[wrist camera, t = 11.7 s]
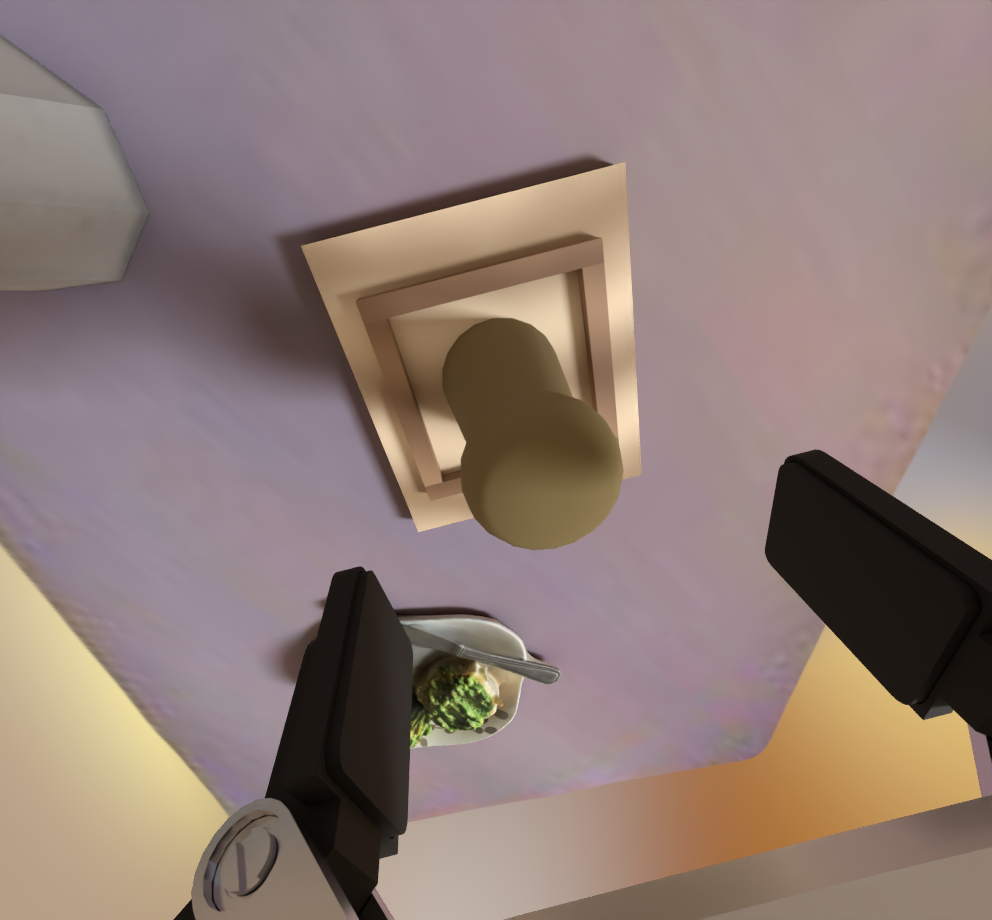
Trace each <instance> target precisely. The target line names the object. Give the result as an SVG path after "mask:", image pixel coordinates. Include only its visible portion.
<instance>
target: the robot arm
mask: <svg viewBox="0 0 992 920" xmlns="http://www.w3.org/2000/svg"><path fill="white" fill-rule="evenodd" d="M765 554H766V557H767V560H768V562H769V563H770V565H771V566H772V567H773V568H774V569H775V570H776V571H777V572H778V573H779V574H780V576H781V577H782V578H783V579H784V580H785V581H786V582H787V583H788V584H789V585H790V586H791V587H792V588H793V590H794V591H795V592H796V593H797V594H798V595H799V596H800V597H801V598H802V599H803V600H804V601H805V602H806V604H807V605H808V606H809V607H810V608H811V609H812V610H813V611H814V612H815V613H816V614H817V615H818V616H819V618H820V619H821V620H822V621H823V622H824V623H825V624H826V625H827V626H828V627H829V628H830V629H831V630H832V632H834V634H835V635H836V636H837V637H838V638H839V639H840V640H841V641H842V642H843V643H844V644H845V646H847V648H848V649H849V650H850V651H851V652H852V653H853V654H854V655H855V656H856V657H857V658H858V660H859V661H860V662H861V663H862V664H863V665H864V666H865V667H866V668H867V669H868V670H869V671H870V672H871V673H872V675H873V676H874V677H875V678H876V679H877V680H878V681H879V682H880V683H881V684H882V685H883V686H884V687H885V689H886V690H887V691H888V692H889V693H890V694H891V695H892V696H893V697H894V698H895V699H896V700H898V701H899V702H901V703H903V704H905V705H909V706H910V707H911V708H912V709H913V710H914V711H915V712H916V713H917V714H918V715H919V716H920V717H921V718H922V719H923V720H925V719H929V718H933V717H936V716H941V715H945V714H949V713H951V712H952V711H953V710H954V711H955V712H956V713H958V714H959V716H960V717H962V718H963V719H964V720H965V721H966V722H967V723H968V728H969V733H970V738H971V743H972V748H973V754H974V759H975V763H976V769H977V774H978V779H979V785H980V789H981V795H982V798H978V799H974V800H970V801H966V802H962V803H958V804H954V805H950V806H946V807H942V808H938V809H934V810H930V811H926V812H922V813H918V814H914V815H910V816H906V817H902V818H898V819H894V820H890V821H886V822H882V823H878V824H874V825H870V826H866V827H862V828H858V829H854V830H850V831H846V832H842V833H838V834H834V835H830V836H826V837H823V838H818V839H815V840H810V841H806V842H802V843H798V844H794V845H791V846H787V847H783V848H779V849H775V850H771V851H767V852H763V853H760V854H755V855H751V856H747V857H743V858H740V859H736V860H732V861H728V862H724V863H720V864H716V865H712V866H708V867H704V868H700V869H696V870H692V871H689V872H685V873H681V874H677V875H673V876H669V877H665V878H661V879H658V880H654V881H650V882H646V883H642V884H638V885H634V886H631V887H627V888H623V889H619V890H615V891H611V892H608V893H604V894H600V895H596V896H592V897H588V898H584V899H580V900H577V901H573V902H569V903H565V904H562V905H558V906H554V907H550V908H546V909H542V910H538V911H534V912H530V913H527V914H523V915H519V916H515V917H512V918H508V919H505V920H992V560H991V559H989V558H988V557H986V556H985V555H983V554H981V553H980V552H978V551H977V550H975V549H974V548H972V547H971V546H969V545H967V544H966V543H964V542H963V541H961V540H960V539H958V538H957V537H955V536H954V535H952V534H950V533H949V532H947V531H946V530H944V529H943V528H941V527H940V526H938V525H936V524H935V523H933V522H932V521H930V520H929V519H927V518H925V517H924V516H923V515H921V514H919V513H918V512H916V511H915V510H913V509H912V508H910V507H909V506H907V505H906V504H904V503H902V502H901V501H899V500H898V499H896V498H895V497H893V496H892V495H890V494H888V493H887V492H885V491H884V490H882V489H881V488H879V487H878V486H876V485H875V484H873V483H871V482H870V481H868V480H867V479H865V478H864V477H862V476H861V475H859V474H857V473H856V472H854V471H853V470H851V469H850V468H848V467H847V466H845V465H844V464H842V463H840V462H839V461H837V460H836V459H834V458H833V457H831V456H830V455H828V454H826V453H825V452H823V451H821V450H812V451H808V452H804V453H800V454H796V455H792V456H789V457H787V459H786V460H785V462H784V465H781V466H780V468H779V471H778V477H777V483H776V488H775V494H774V500H773V506H772V511H771V517H770V523H769V529H768V534H767V540H766V546H765ZM412 678H413V649H412V645H411V642H410V639H409V637H408V636H407V634H406V632H405V630H404V628H403V626H402V624H401V622H400V621H399V619H398V617H397V615H396V613H395V611H394V609H393V608H392V606H391V604H390V602H389V600H388V598H387V596H386V595H385V593H384V591H383V589H382V587H381V585H380V583H379V581H378V580H377V578H376V576H375V574H374V573H373V571H365V569H364V568H363V567H356V568H352V569H348V570H344V571H340V572H336V573H335V574H334V575H333V578H332V581H331V585H330V589H329V593H328V597H327V601H326V604H325V608H324V612H323V616H322V620H321V624H320V628H319V632H318V636H317V640H314V641H312V642H311V643H310V644H309V645H308V646H307V649H306V651H305V654H304V657H303V661H302V665H301V668H300V672H299V675H298V679H297V683H296V686H295V690H294V694H293V697H292V701H291V705H290V708H289V712H288V716H287V719H286V723H285V727H284V730H283V734H282V738H281V741H280V745H279V748H278V752H277V756H276V759H275V763H274V767H273V770H272V774H271V778H270V781H269V785H268V789H267V792H266V796H265V799H259V800H255V801H253V802H251V803H249V804H247V805H245V806H243V807H242V808H241V809H239V810H238V811H237V812H236V813H234V814H233V815H232V816H231V817H230V818H228V819H227V821H226V822H225V823H224V824H223V825H222V827H221V828H220V829H219V830H218V831H217V832H216V833H215V835H214V836H213V838H212V840H211V841H210V843H209V844H208V846H207V848H206V849H205V851H204V853H203V855H202V857H201V860H200V862H199V865H198V867H197V870H196V872H195V876H194V881H193V887H192V893H191V894H192V899H191V900H190V902H189V903H188V904H187V905H186V906H185V907H184V908H183V909H182V911H181V912H180V913H179V914H178V915H177V916H176V918H175V919H174V920H394V918H393V916H392V915H391V913H390V911H389V910H388V908H387V907H386V905H385V903H384V902H383V900H382V899H381V897H380V895H379V894H378V892H377V890H376V889H375V887H376V885H377V883H378V871H379V859H380V858H384V857H388V856H392V855H395V854H398V835H401V834H404V833H405V831H406V827H407V819H408V791H409V762H410V734H411V706H412Z"/></svg>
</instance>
